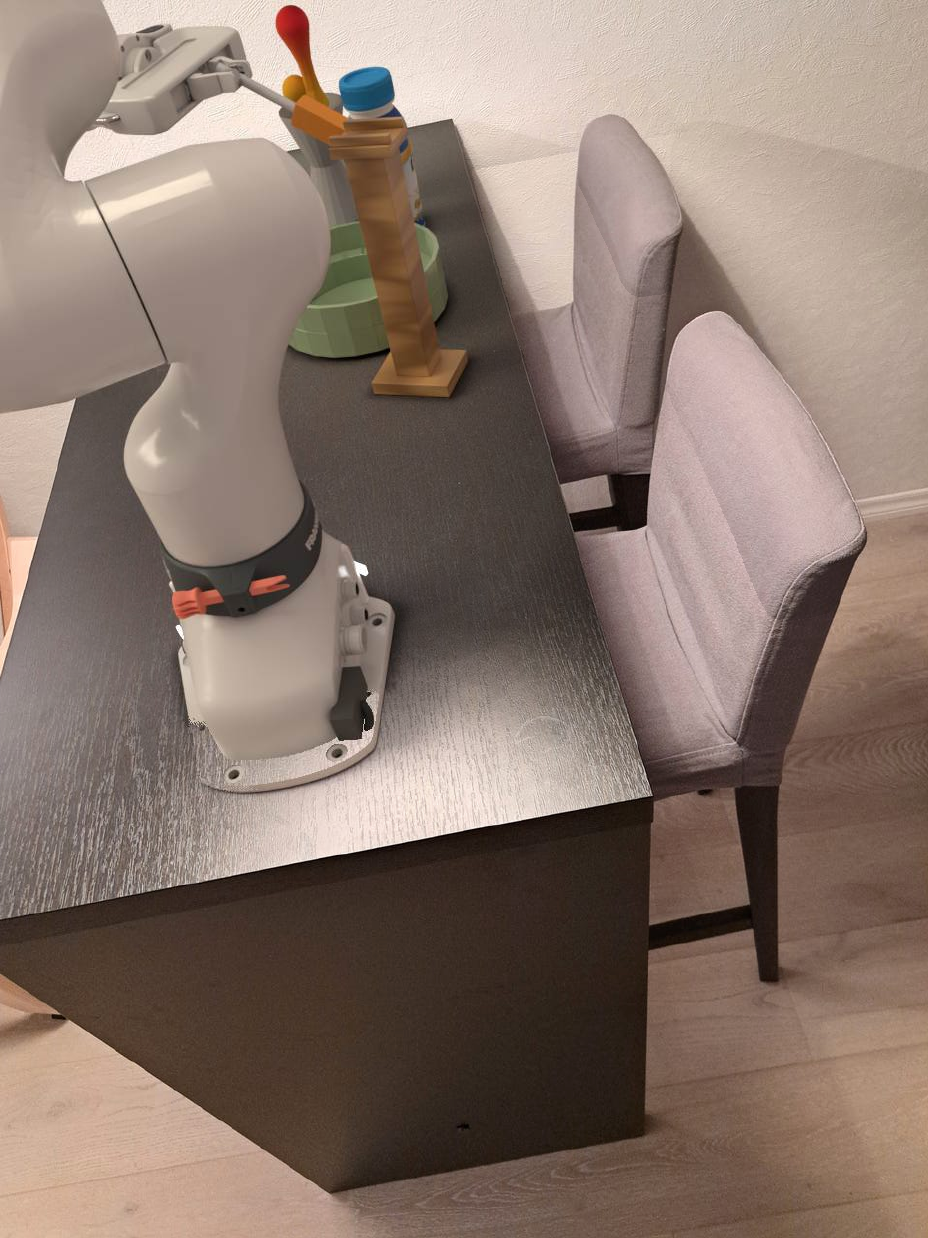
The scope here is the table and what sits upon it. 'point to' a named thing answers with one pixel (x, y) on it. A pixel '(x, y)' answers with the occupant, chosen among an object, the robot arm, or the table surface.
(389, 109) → the beverage bottle
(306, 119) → the screwdriver
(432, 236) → the green pet bowl
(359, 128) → the shelf stand
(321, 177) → the lava lamp
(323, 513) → the table surface
